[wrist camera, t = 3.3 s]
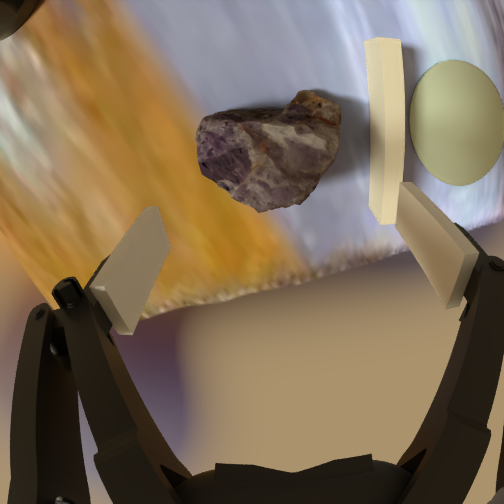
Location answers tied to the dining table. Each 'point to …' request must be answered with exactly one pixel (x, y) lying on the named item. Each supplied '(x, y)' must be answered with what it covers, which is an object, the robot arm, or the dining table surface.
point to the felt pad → (456, 122)
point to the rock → (270, 150)
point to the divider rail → (385, 125)
